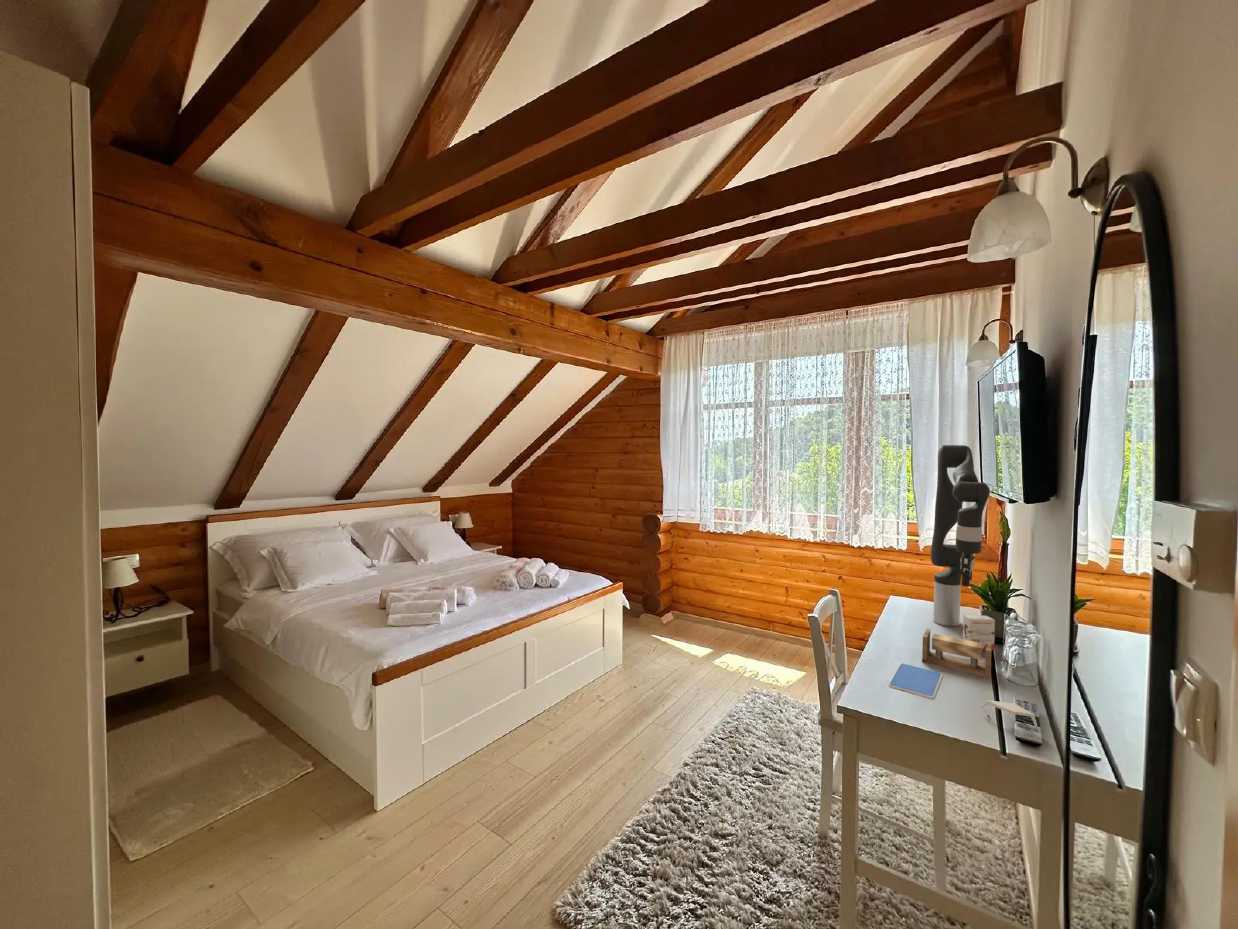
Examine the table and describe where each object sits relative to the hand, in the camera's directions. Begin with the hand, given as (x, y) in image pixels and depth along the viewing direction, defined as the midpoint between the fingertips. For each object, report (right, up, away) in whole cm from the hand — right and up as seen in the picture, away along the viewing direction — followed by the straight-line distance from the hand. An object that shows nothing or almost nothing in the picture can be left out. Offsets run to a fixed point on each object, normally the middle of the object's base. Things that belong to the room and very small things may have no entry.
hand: (966, 582), depth 175 cm
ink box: (+10, -26, +8) cm, 29 cm away
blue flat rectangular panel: (-28, -29, -16) cm, 43 cm away
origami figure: (-17, -29, -39) cm, 52 cm away
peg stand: (-8, -27, -5) cm, 29 cm away
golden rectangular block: (-8, -22, -6) cm, 24 cm away
